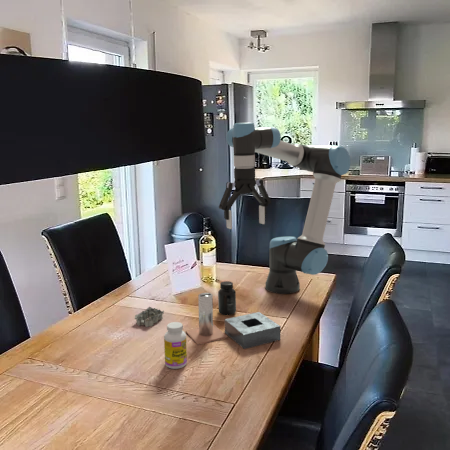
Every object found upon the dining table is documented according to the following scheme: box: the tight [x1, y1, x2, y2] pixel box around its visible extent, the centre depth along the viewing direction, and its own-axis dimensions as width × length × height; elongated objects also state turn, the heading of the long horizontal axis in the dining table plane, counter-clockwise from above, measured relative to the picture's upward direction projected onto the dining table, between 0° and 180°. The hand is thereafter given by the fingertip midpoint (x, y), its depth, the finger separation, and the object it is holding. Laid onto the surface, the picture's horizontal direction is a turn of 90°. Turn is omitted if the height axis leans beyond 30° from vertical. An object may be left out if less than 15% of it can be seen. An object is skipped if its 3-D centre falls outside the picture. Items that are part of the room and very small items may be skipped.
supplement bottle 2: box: [217, 280, 237, 316], centre depth 181 cm, size 7×7×12 cm
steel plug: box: [198, 292, 214, 336], centre depth 161 cm, size 5×5×14 cm
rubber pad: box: [185, 323, 228, 345], centre depth 163 cm, size 11×11×1 cm
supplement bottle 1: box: [163, 321, 188, 370], centre depth 142 cm, size 7×7×13 cm
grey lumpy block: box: [134, 306, 165, 328], centre depth 175 cm, size 11×8×4 cm
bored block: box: [224, 311, 281, 350], centre depth 161 cm, size 14×14×5 cm
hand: (245, 225), depth 170 cm, fingers open, 13 cm apart
